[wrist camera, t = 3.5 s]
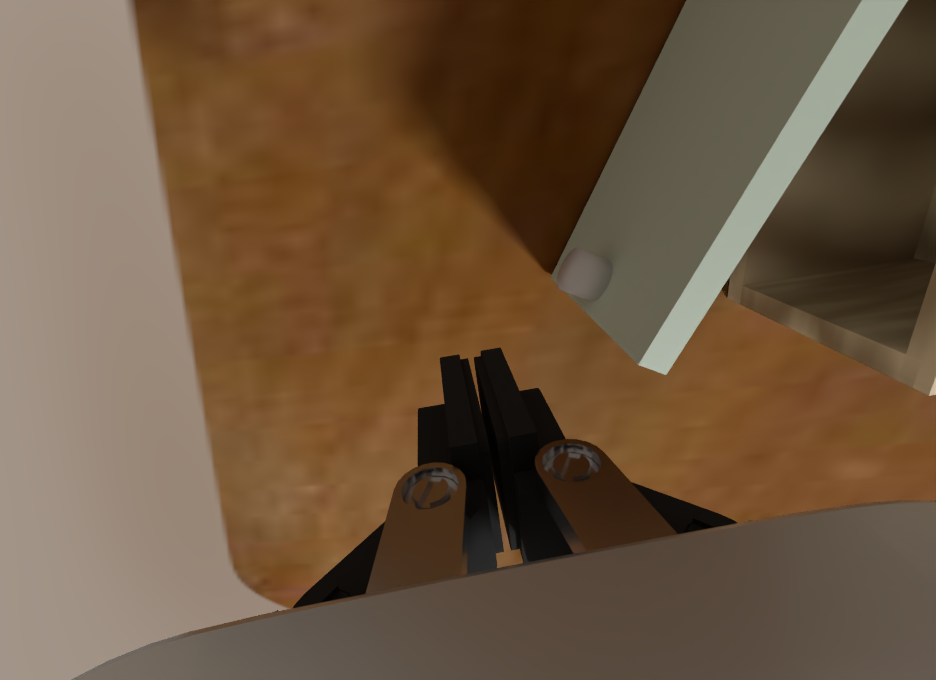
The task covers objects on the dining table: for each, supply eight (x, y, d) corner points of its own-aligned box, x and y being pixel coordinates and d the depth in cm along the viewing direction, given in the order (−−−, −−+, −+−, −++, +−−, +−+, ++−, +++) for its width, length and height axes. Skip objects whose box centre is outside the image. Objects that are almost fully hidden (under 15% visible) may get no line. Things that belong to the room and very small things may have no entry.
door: (727, -164, 18) (1128, -579, 8) (776, -127, 19) (1206, -463, 9) (526, 267, 25) (599, 350, 15) (568, 284, 26) (665, 374, 15)
